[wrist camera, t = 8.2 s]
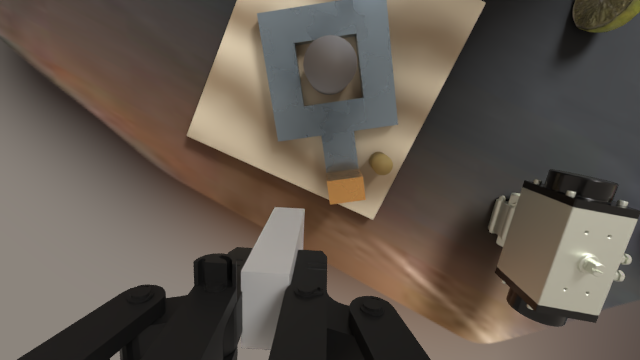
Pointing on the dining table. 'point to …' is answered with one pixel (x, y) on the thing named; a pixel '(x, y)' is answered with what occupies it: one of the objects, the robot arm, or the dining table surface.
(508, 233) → the pneumatic valve
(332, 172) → the flange plate
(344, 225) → the dining table surface
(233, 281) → the robot arm
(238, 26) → the post board
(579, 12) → the lime
